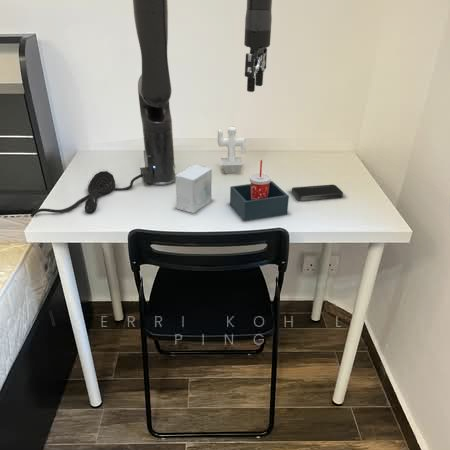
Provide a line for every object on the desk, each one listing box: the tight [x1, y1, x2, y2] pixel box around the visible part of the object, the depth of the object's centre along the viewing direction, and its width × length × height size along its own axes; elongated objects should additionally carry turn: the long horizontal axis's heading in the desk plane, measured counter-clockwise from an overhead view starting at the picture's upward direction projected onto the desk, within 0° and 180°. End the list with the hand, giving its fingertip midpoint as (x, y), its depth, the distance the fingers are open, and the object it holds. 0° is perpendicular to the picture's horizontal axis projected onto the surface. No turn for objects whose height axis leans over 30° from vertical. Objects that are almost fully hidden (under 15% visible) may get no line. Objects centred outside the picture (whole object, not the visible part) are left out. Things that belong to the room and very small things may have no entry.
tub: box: [229, 180, 290, 222], centre depth 135 cm, size 14×12×6 cm
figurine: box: [217, 125, 246, 175], centre depth 156 cm, size 7×9×15 cm
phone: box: [291, 184, 344, 202], centre depth 145 cm, size 8×1×15 cm
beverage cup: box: [249, 159, 272, 200], centre depth 132 cm, size 6×6×14 cm
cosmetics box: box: [175, 164, 213, 214], centre depth 136 cm, size 10×6×10 cm, turn 151°
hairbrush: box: [84, 169, 116, 214], centre depth 142 cm, size 8×4×25 cm
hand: (254, 88), depth 141 cm, fingers open, 8 cm apart
